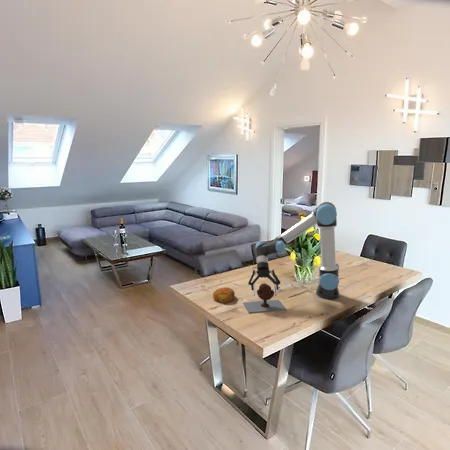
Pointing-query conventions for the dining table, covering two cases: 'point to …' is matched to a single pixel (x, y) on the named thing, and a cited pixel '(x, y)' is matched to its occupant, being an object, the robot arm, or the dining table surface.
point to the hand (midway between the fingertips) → (265, 295)
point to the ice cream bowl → (265, 294)
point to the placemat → (256, 307)
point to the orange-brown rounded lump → (223, 295)
